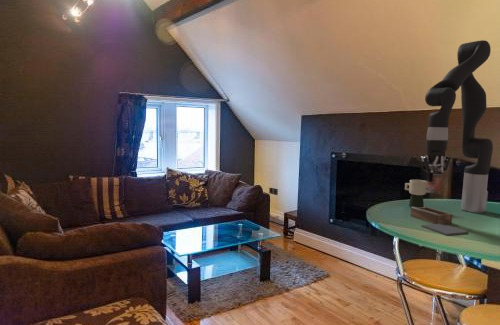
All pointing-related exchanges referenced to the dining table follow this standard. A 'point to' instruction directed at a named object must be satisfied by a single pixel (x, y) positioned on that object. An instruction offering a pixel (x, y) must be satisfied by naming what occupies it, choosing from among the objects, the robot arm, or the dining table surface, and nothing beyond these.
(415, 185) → the character mug
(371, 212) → the dining table surface
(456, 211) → the dining table surface
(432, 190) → the lighter
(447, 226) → the mat
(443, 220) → the holder
